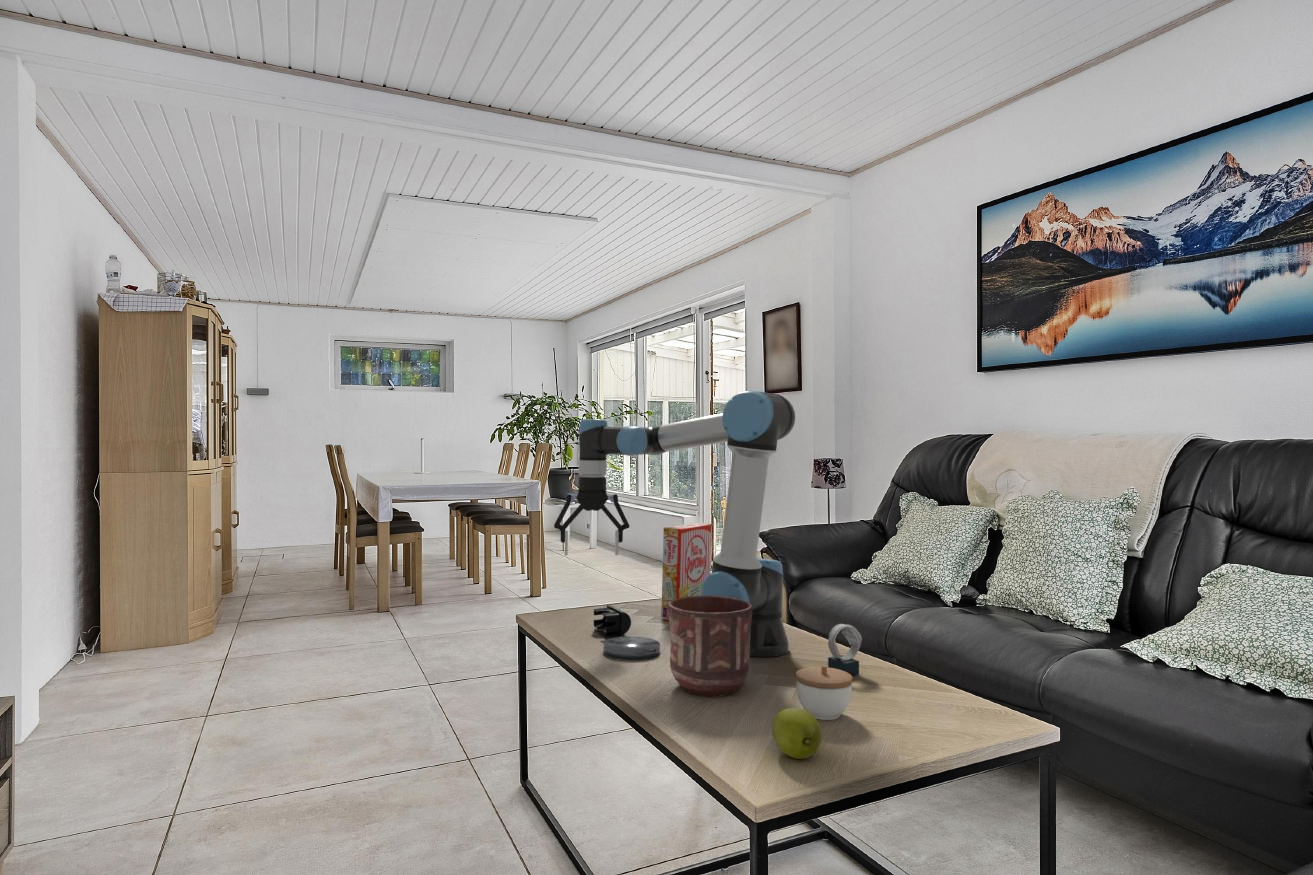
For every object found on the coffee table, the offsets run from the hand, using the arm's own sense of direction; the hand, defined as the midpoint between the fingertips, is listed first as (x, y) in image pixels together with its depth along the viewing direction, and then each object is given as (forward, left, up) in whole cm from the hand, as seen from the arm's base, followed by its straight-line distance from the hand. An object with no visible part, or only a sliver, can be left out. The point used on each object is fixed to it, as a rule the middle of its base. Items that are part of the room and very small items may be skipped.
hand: (591, 554), depth 209 cm
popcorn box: (-11, -35, -22) cm, 42 cm away
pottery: (-46, +24, -22) cm, 57 cm away
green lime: (-74, +49, -22) cm, 92 cm away
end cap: (-4, -4, -22) cm, 22 cm away
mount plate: (-18, +9, -21) cm, 30 cm away
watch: (-68, -2, -22) cm, 72 cm away
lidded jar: (-72, +27, -22) cm, 80 cm away
